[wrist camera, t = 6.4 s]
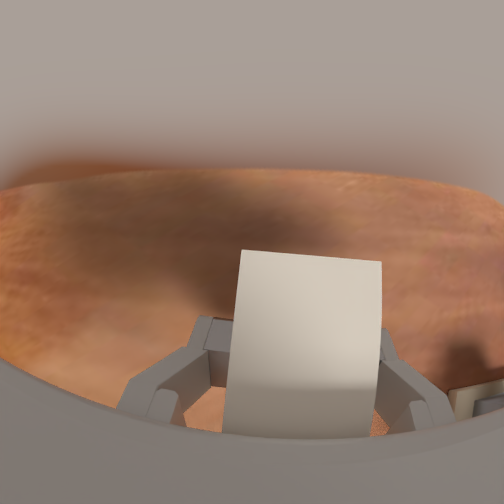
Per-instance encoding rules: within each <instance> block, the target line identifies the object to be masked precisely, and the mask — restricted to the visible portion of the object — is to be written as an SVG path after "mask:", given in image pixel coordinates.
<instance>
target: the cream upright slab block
mask: <svg viewBox="0 0 504 504" xmlns="http://www.w3.org/2000/svg"><path fill="white" fill-rule="evenodd" d="M381 317H382V268H381V262H380V261H368V260H357V259H345V258H334V257H322V256H311V255H299V254H288V253H276V252H264V251H253V250H242V251H241V260H240V268H239V277H238V286H237V295H236V303H235V312H234V321H233V330H232V339H231V349H230V358H229V367H228V377H227V386H226V396H225V406H224V415H223V425H222V433H226V434H234V435H242V436H252V437H264V438H280V439H344V438H360V437H370V431H371V425H372V418H373V412H374V405H375V397H376V388H377V379H378V369H379V356H380V341H381Z"/></svg>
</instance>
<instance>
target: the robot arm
mask: <svg viewBox="0 0 504 504" xmlns="http://www.w3.org/2000/svg"><path fill="white" fill-rule="evenodd" d="M233 321H234V320H233V319H226V318H218V317H210V316H203V315H200V316H199V317H198V318H197V321H196V323H195V326H194V329H193V331H192V334H191V336H190V339H189V342H188V344H187V347H181V348H179V349H178V350H176V351H175V352H173V353H172V354H170V355H168V356H167V357H165V358H164V359H162V360H161V361H159V362H157V363H156V364H154V365H153V366H151V367H149V368H148V369H146V370H145V371H143V372H141V373H140V374H138V375H137V376H135V377H133V378H132V379H130V380H129V382H128V384H127V386H126V388H125V391H124V393H123V395H122V397H121V399H120V401H119V403H118V405H117V407H116V409H115V408H112V407H109V406H106V405H103V404H100V403H97V402H94V401H92V400H89V399H86V398H84V397H81V396H79V395H76V394H74V393H71V392H69V391H66V390H64V389H62V388H59V387H57V386H55V385H52V384H50V383H48V382H46V381H44V380H42V379H40V378H38V377H36V376H33V375H31V374H30V373H28V372H26V371H24V370H22V369H20V368H18V367H16V366H14V365H13V364H11V363H9V362H7V361H5V360H4V359H2V358H0V504H504V407H503V408H500V409H498V410H495V411H492V412H489V413H486V414H482V415H479V416H476V417H472V418H469V419H465V420H462V421H458V422H457V421H456V419H455V416H454V413H453V410H452V408H451V405H450V403H449V400H448V397H447V395H446V394H444V393H443V392H442V391H441V390H440V389H438V388H437V387H436V386H435V385H433V384H432V383H431V382H430V381H428V380H427V379H426V378H425V377H424V376H422V375H421V374H420V373H419V372H417V371H416V370H415V369H414V368H412V367H411V366H410V365H409V364H407V363H406V362H405V361H404V360H399V358H398V355H397V352H396V350H395V347H394V345H393V342H392V340H391V337H390V335H389V332H388V330H387V329H386V328H381V341H380V356H379V369H378V379H377V388H376V397H375V405H374V409H375V410H376V411H377V412H378V414H379V415H380V416H381V417H382V419H383V420H384V421H385V422H386V423H387V425H388V426H389V427H390V429H389V430H388V432H387V433H386V434H385V435H381V436H371V437H360V438H344V439H280V438H264V437H252V436H242V435H234V434H226V433H219V432H212V431H206V430H200V429H195V428H189V427H187V426H186V423H185V419H184V415H183V413H184V412H185V411H186V410H187V409H188V408H189V407H190V406H192V405H193V404H194V403H195V402H196V401H197V400H198V399H199V398H200V397H201V396H202V395H203V394H204V393H205V392H206V391H208V390H209V389H210V388H211V386H215V387H224V388H226V386H227V377H228V367H229V358H230V349H231V339H232V330H233Z"/></svg>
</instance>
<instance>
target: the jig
mask: <svg viewBox="0 0 504 504" xmlns="http://www.w3.org/2000/svg"><path fill="white" fill-rule="evenodd" d="M448 400H449V403H450V405H451V408H452V410H453V413H454V416H455V419H456V421H457V422H458V421H462V420H465V419H469V418H472V417H476V416H479V415H482V414H486V413H489V412H492V411H495V410H498V409H500V408H503V407H504V378H503V379H499V380H495V381H491V382H487V383H483V384H478V385H474V386H469V387H464V388H459V389H453V390H449V393H448Z"/></svg>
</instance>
